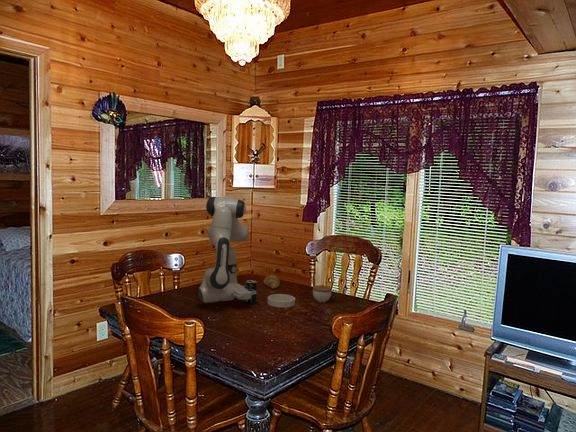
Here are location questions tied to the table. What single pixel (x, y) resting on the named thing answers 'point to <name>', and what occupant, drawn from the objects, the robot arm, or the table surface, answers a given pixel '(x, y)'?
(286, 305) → the pale grey round disc
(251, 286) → the beverage can
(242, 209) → the robot arm
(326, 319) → the table surface
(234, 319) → the table surface
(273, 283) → the croissant
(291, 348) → the table surface
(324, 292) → the lidded jar
